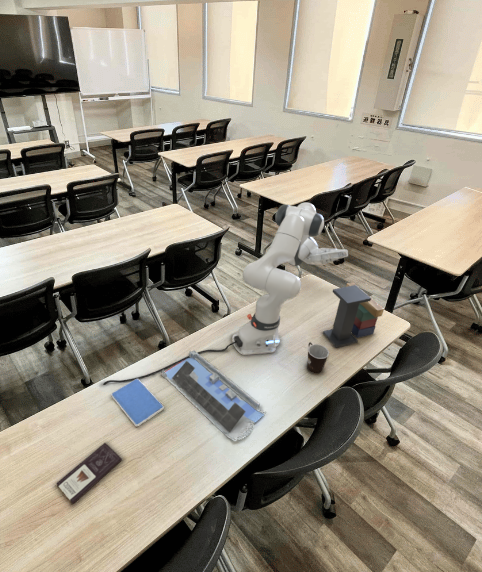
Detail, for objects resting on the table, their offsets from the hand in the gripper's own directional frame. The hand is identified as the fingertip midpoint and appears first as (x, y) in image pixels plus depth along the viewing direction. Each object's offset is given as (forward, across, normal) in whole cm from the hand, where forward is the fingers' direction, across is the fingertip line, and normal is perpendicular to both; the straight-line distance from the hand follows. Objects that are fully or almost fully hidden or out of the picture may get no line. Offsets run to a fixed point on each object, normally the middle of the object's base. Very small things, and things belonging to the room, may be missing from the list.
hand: (337, 255), depth 181 cm
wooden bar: (+13, +2, +24) cm, 27 cm away
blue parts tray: (+21, -79, +46) cm, 94 cm away
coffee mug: (+20, -32, +45) cm, 59 cm away
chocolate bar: (+36, -126, +56) cm, 142 cm away
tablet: (+16, -108, +44) cm, 117 cm away
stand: (+10, -11, +39) cm, 42 cm away
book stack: (+5, +2, +36) cm, 37 cm away
